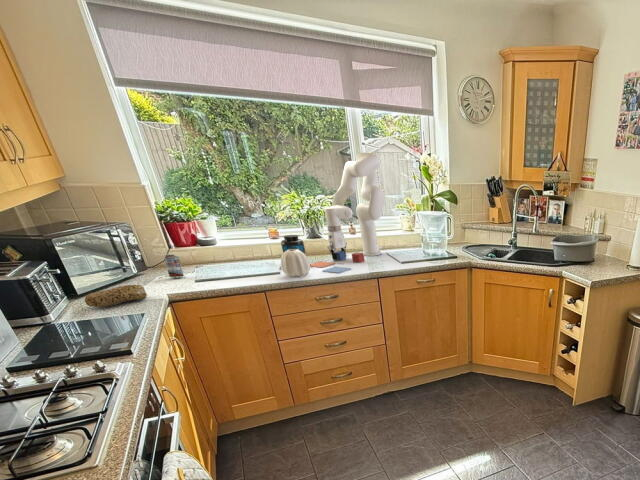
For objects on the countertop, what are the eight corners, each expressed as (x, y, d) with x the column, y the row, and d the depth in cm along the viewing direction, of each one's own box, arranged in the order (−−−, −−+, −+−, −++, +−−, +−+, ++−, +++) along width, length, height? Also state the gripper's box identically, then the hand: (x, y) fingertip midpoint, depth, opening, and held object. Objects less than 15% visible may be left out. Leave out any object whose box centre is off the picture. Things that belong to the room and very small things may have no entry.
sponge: (145, 298, 189) (83, 297, 175) (143, 281, 186) (79, 280, 171) (150, 310, 182) (86, 310, 168) (148, 293, 179) (83, 292, 164)
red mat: (319, 262, 253) (319, 261, 253) (334, 263, 250) (334, 263, 250) (306, 266, 244) (306, 265, 243) (322, 267, 241) (322, 266, 241)
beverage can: (169, 279, 211) (160, 256, 206) (171, 276, 217) (163, 253, 211) (184, 278, 214) (175, 255, 208) (186, 275, 220) (177, 252, 214)
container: (305, 266, 243) (299, 237, 235) (283, 266, 241) (276, 237, 233) (309, 261, 253) (303, 234, 246) (288, 262, 251) (282, 234, 243)
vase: (284, 279, 217) (277, 253, 211) (284, 273, 228) (278, 248, 222) (312, 277, 223) (306, 251, 216) (311, 271, 234) (306, 246, 227)
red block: (357, 260, 259) (356, 252, 257) (364, 261, 258) (363, 253, 255) (352, 262, 255) (351, 253, 252) (359, 262, 254) (358, 254, 251)
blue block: (339, 258, 263) (337, 250, 260) (345, 259, 261) (344, 251, 259) (334, 260, 258) (332, 251, 256) (340, 260, 257) (339, 252, 255)
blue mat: (335, 267, 243) (335, 266, 242) (351, 269, 240) (351, 268, 240) (322, 271, 233) (322, 270, 233) (338, 273, 231) (338, 272, 230)
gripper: (329, 231, 243) (335, 261, 251) (348, 227, 257) (353, 256, 266) (319, 230, 245) (325, 260, 253) (338, 226, 259) (343, 255, 268)
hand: (339, 258), depth 259 cm, fingers open, 7 cm apart
